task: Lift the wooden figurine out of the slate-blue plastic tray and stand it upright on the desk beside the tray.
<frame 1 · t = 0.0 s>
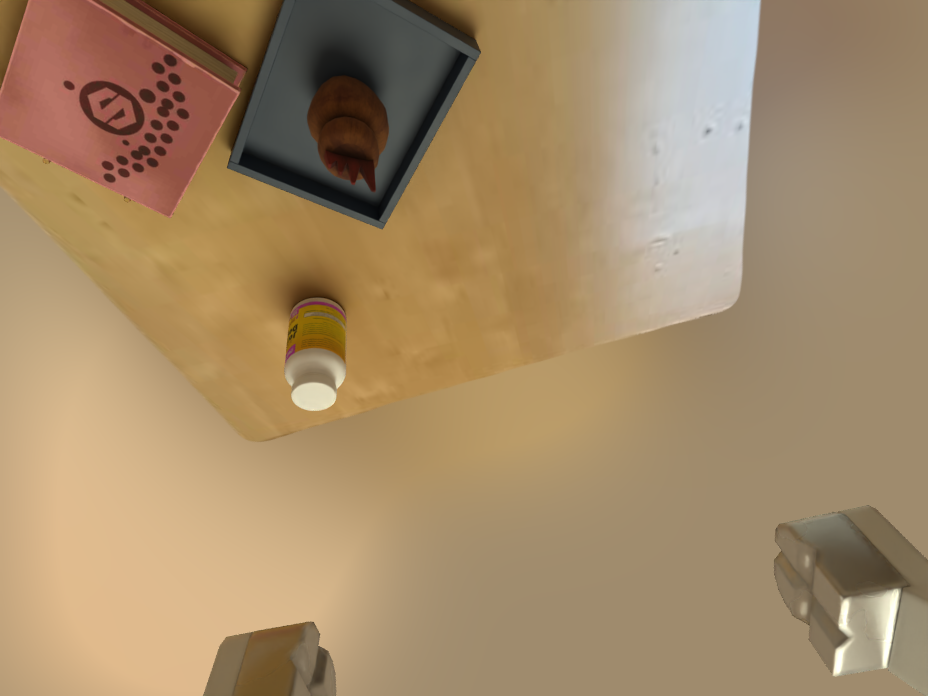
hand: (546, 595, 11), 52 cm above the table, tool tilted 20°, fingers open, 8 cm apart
wooden figurine: (349, 99, 55), resting on tray
supplement bottle: (318, 315, 73), on the table
tray: (349, 98, 55), on the table
book: (129, 89, 53), on the table
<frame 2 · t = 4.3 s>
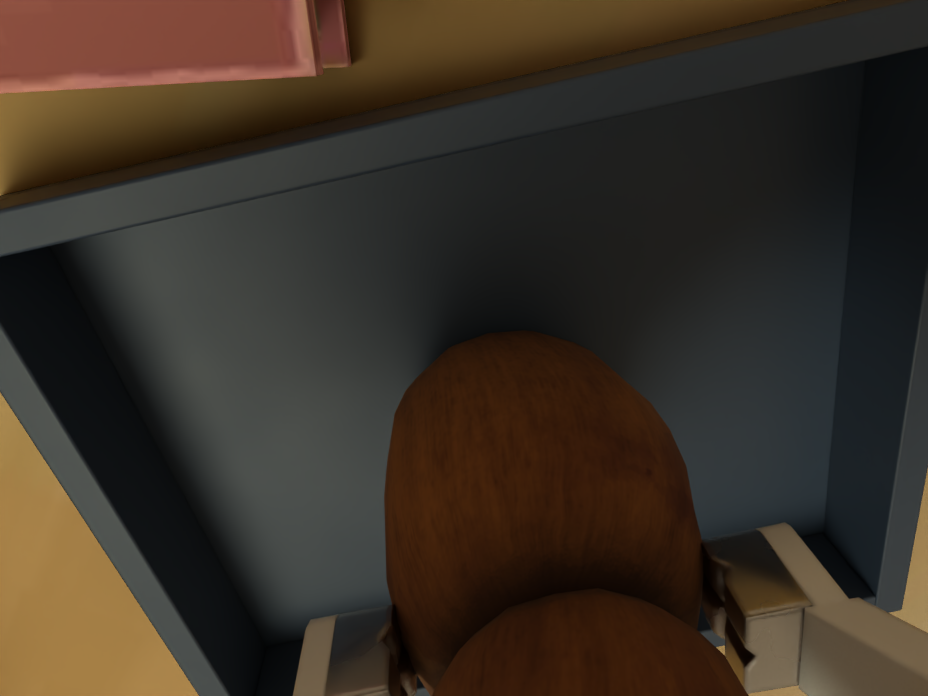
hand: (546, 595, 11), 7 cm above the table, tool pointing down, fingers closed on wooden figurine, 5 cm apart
wooden figurine: (501, 404, 16), resting on tray, touching gripper
tray: (500, 398, 16), on the table
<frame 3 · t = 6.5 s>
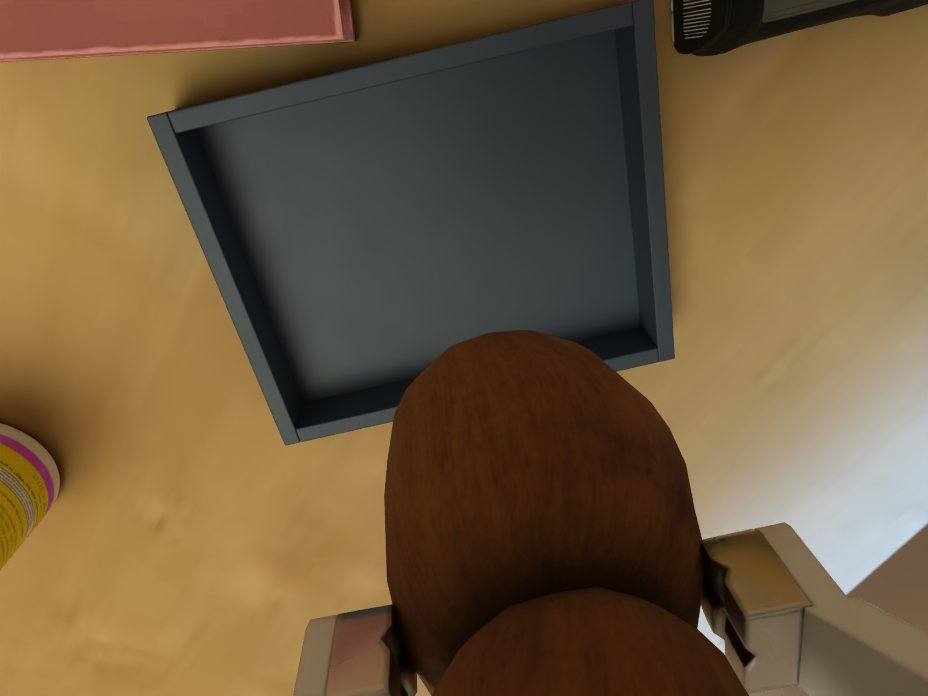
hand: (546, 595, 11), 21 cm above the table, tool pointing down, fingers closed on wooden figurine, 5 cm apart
wooden figurine: (502, 403, 16), point 15 cm above the table, touching gripper
supplement bottle: (0, 464, 33), on the table
tray: (440, 234, 29), on the table
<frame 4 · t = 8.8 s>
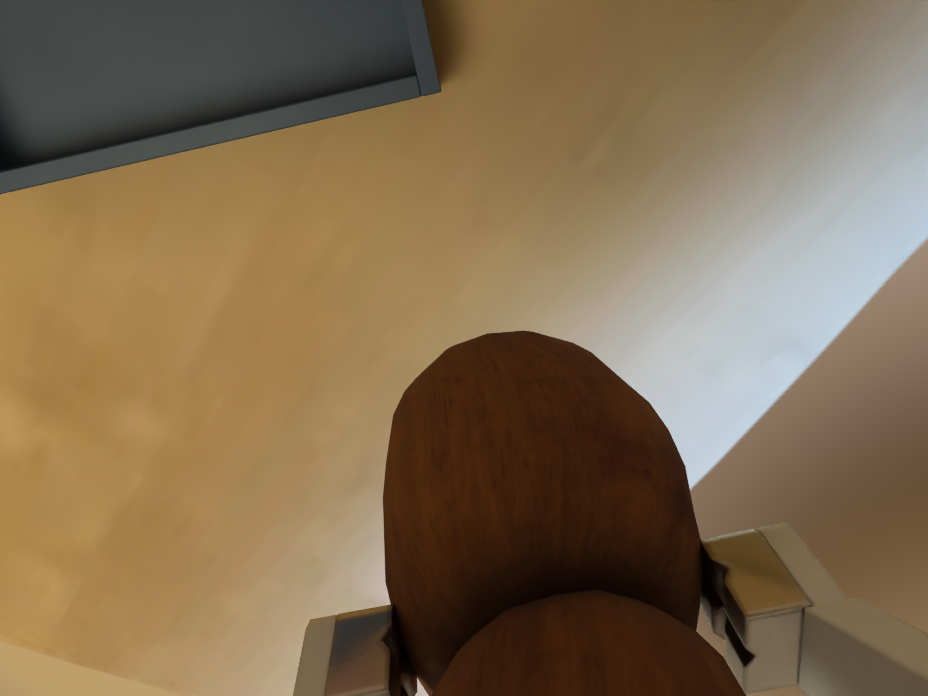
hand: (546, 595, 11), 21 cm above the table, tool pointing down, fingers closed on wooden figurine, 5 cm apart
wooden figurine: (501, 404, 16), point 15 cm above the table, touching gripper
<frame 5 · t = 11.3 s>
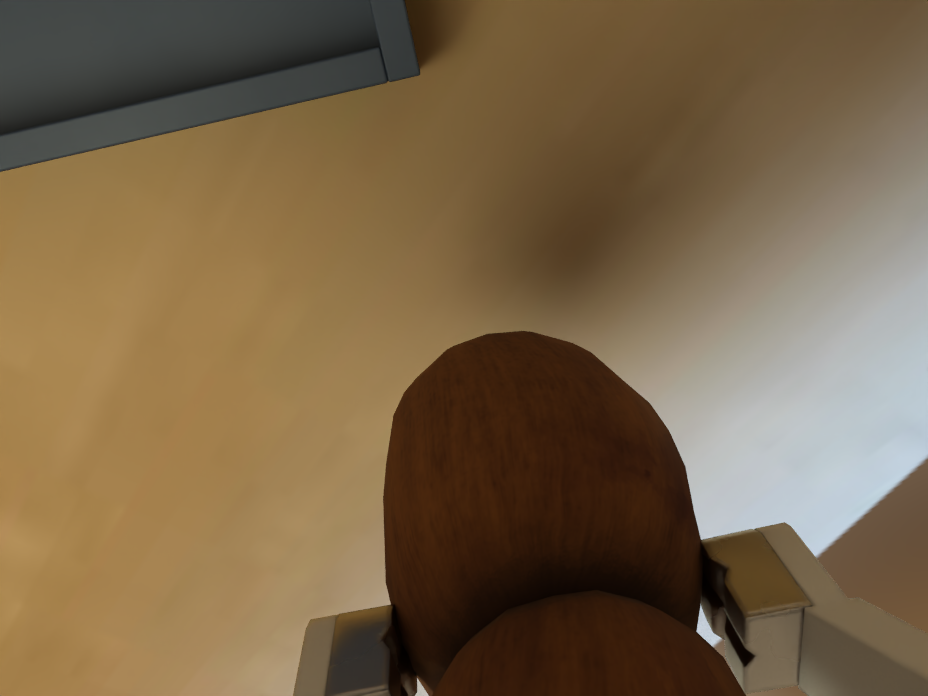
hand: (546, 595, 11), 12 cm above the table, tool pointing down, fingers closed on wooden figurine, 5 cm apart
wooden figurine: (501, 404, 16), point 5 cm above the table, touching gripper
when the fingers open (6 cm above the table, at t = 13.3 s): wooden figurine stays where it is, on the table.
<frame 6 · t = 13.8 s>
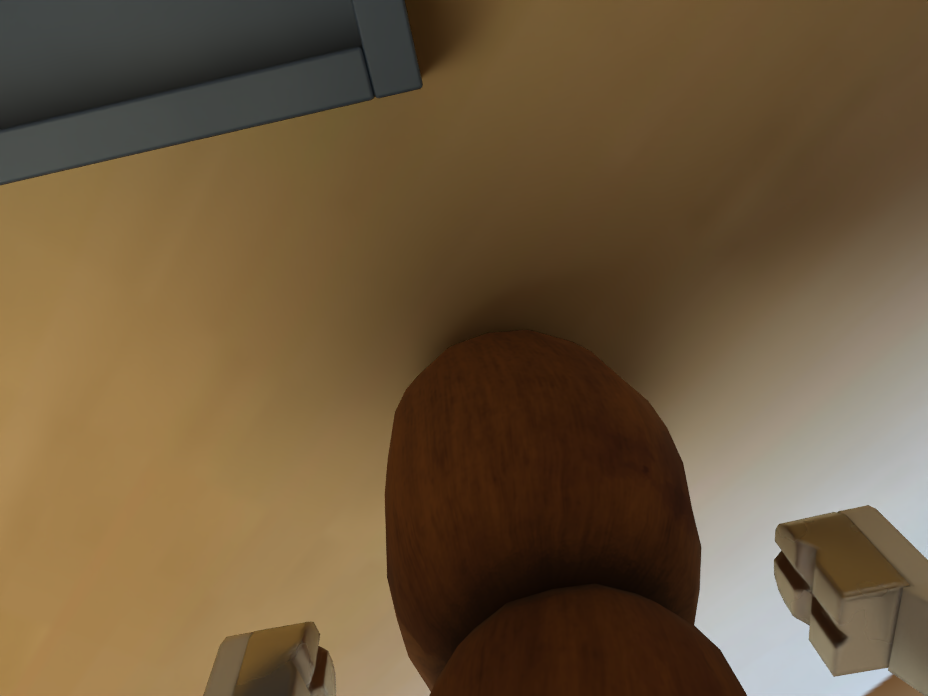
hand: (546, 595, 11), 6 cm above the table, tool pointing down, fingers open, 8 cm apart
wooden figurine: (501, 403, 16), on the table
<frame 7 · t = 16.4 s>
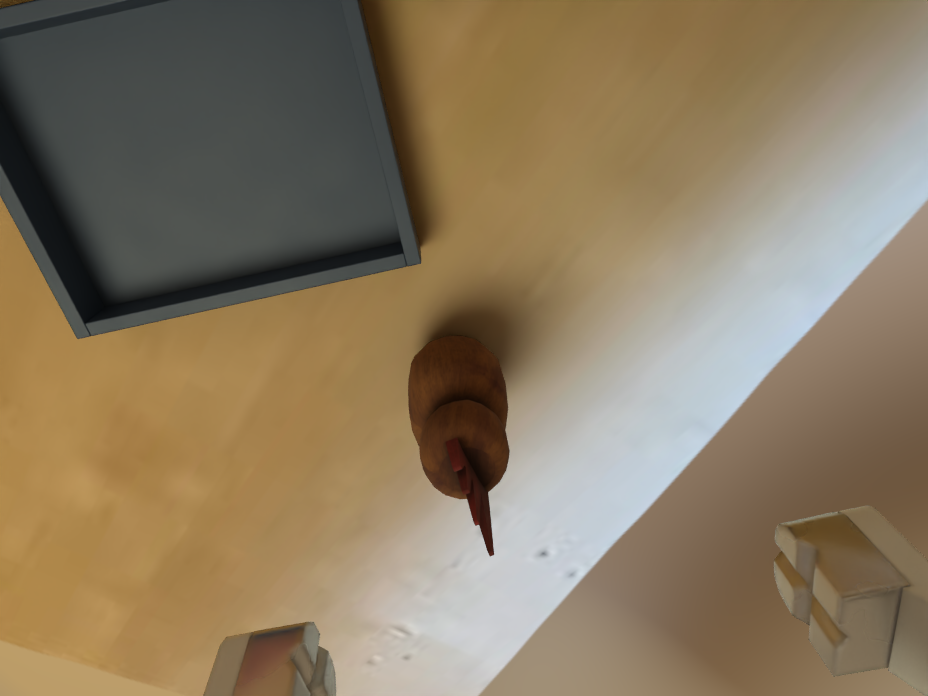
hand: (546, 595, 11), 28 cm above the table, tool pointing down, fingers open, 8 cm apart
wooden figurine: (452, 365, 40), on the table
tray: (211, 150, 33), on the table
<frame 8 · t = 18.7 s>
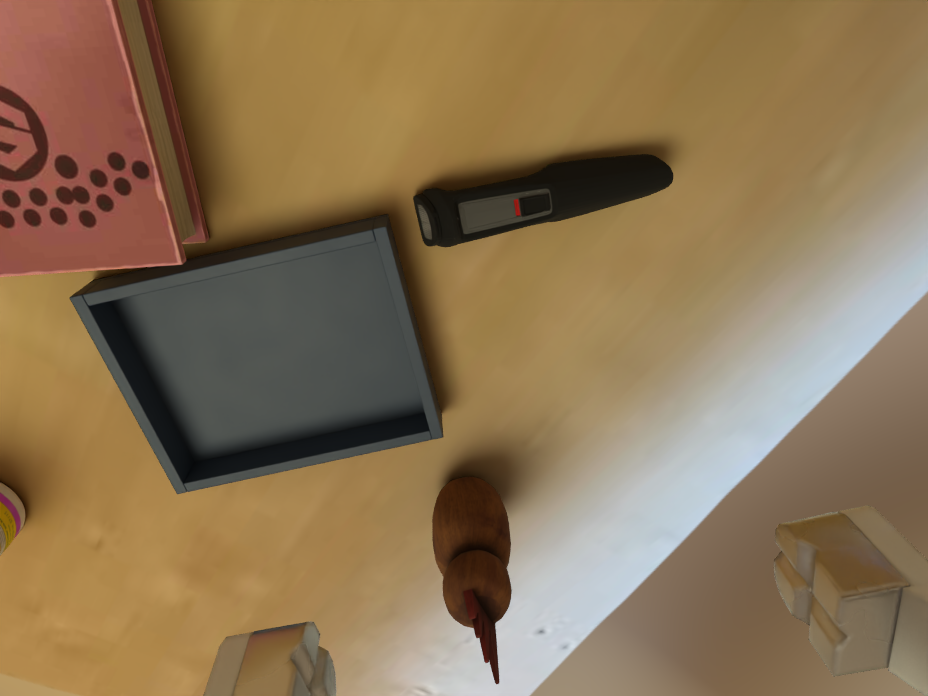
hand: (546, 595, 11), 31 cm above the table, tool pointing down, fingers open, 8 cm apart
wooden figurine: (466, 495, 49), on the table
tray: (280, 352, 42), on the table
book: (47, 126, 35), on the table
electric trimmer: (530, 190, 39), on the table
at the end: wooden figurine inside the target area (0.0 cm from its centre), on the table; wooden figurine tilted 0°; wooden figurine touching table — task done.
